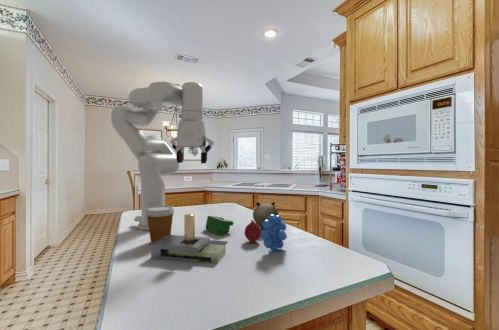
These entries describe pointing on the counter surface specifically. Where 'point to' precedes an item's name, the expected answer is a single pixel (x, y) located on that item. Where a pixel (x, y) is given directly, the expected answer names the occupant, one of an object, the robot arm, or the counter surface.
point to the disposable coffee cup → (159, 221)
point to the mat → (217, 242)
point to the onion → (252, 231)
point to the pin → (189, 228)
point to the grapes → (274, 232)
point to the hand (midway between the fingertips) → (191, 162)
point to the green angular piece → (218, 225)
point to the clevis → (186, 249)
